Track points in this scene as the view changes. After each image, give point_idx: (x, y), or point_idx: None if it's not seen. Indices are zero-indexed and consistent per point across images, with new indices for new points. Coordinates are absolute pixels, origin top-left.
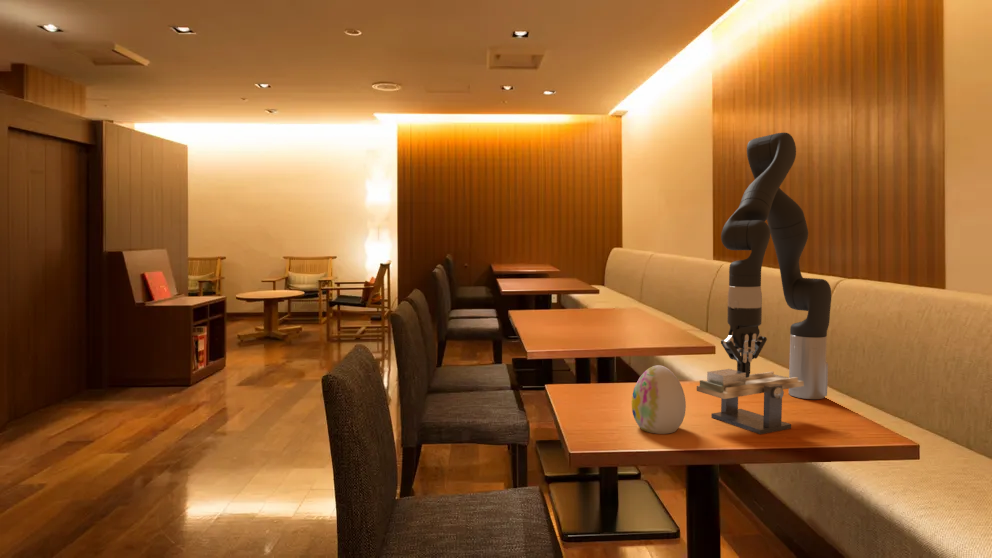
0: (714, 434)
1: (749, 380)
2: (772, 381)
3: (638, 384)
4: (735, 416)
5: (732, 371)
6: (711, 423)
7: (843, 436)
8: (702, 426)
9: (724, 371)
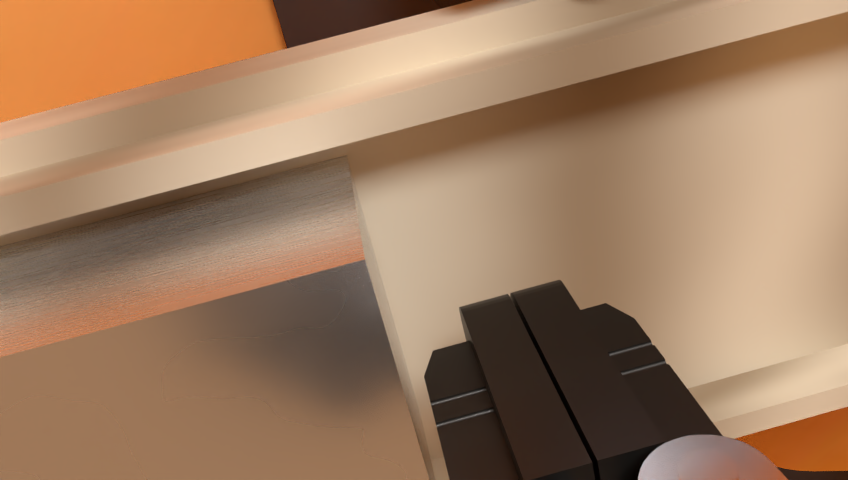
0: None
1: (749, 73)
2: (823, 412)
3: None
4: (417, 11)
5: (287, 473)
6: (137, 43)
7: (839, 445)
8: (8, 114)
9: (129, 455)
